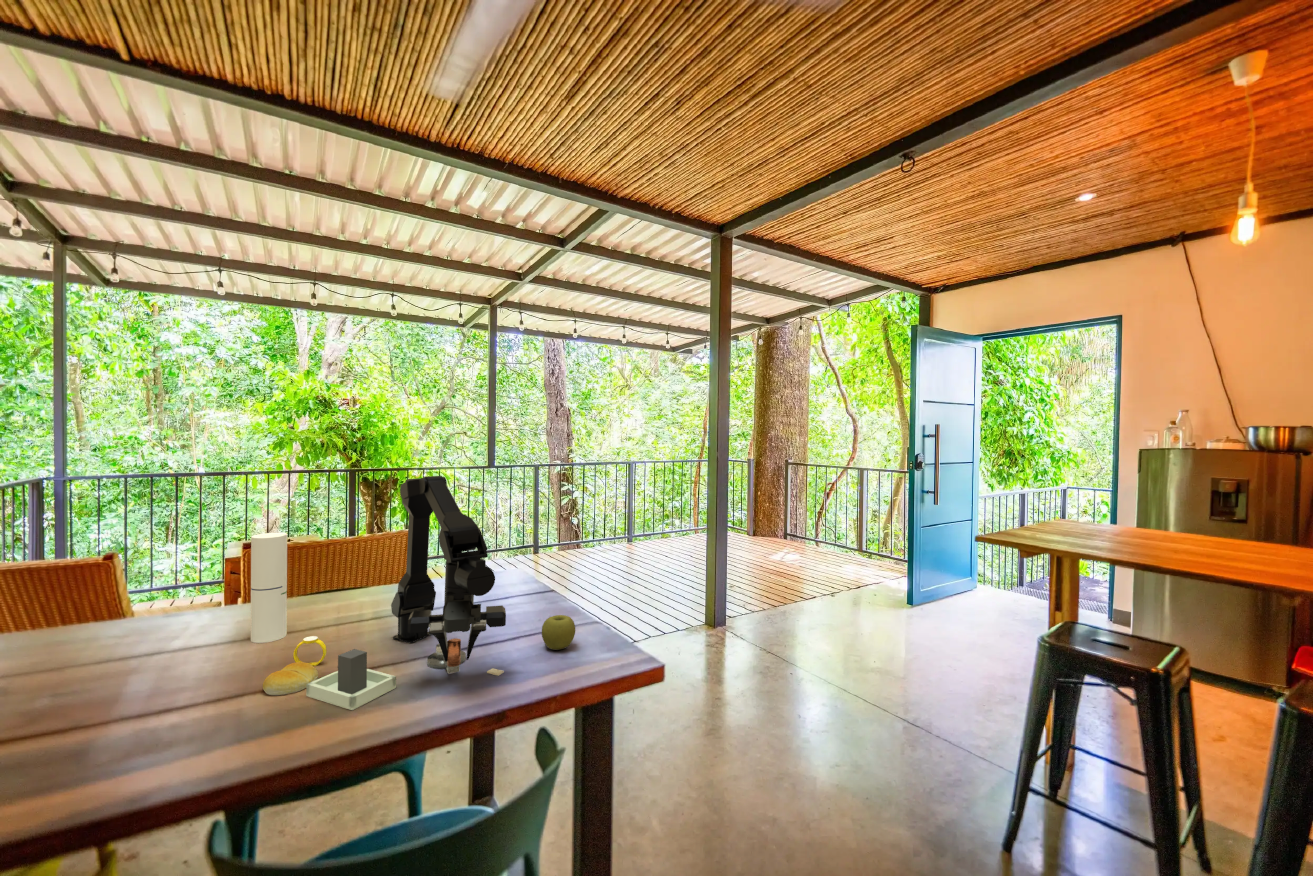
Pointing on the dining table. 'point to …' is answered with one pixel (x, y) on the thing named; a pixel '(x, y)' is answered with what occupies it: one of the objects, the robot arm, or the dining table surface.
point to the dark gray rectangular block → (352, 671)
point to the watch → (308, 641)
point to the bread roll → (290, 679)
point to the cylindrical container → (268, 587)
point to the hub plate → (441, 661)
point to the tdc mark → (495, 671)
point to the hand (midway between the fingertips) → (457, 660)
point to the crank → (451, 655)
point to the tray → (329, 693)
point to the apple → (558, 632)
